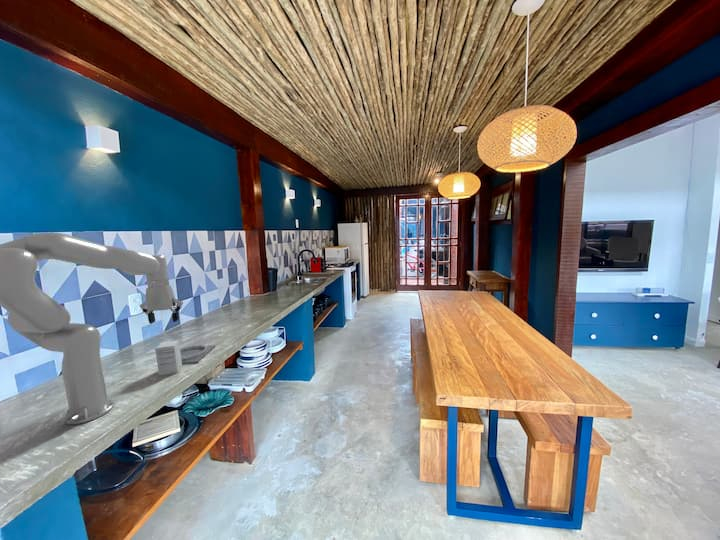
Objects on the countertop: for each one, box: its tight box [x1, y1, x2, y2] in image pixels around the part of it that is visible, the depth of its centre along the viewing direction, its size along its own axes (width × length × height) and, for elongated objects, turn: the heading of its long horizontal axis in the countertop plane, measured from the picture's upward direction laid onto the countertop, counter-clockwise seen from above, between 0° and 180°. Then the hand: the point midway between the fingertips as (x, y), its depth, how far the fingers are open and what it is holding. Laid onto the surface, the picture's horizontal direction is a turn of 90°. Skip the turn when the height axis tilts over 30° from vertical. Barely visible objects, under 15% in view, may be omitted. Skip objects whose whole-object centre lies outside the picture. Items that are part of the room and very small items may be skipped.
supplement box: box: [154, 340, 183, 376], centre depth 127 cm, size 7×7×13 cm
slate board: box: [181, 344, 216, 365], centre depth 144 cm, size 20×16×1 cm
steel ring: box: [180, 344, 208, 360], centre depth 144 cm, size 15×15×2 cm
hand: (164, 321), depth 125 cm, fingers open, 9 cm apart
